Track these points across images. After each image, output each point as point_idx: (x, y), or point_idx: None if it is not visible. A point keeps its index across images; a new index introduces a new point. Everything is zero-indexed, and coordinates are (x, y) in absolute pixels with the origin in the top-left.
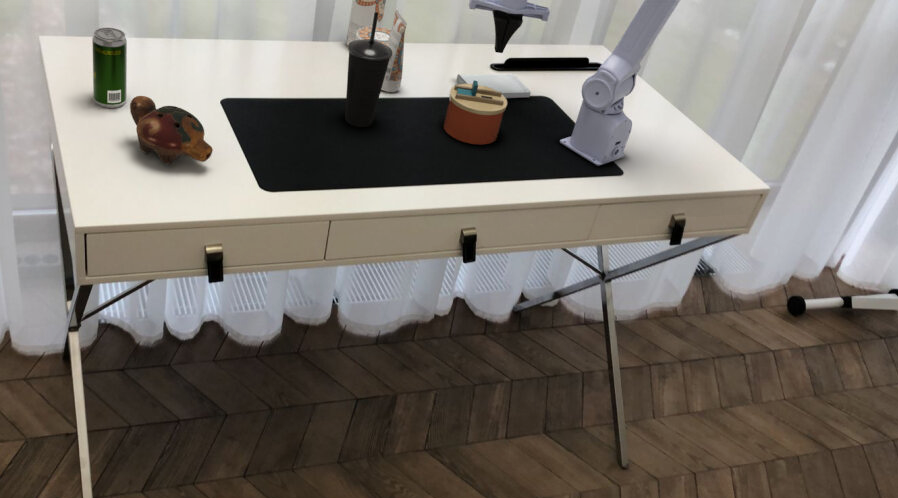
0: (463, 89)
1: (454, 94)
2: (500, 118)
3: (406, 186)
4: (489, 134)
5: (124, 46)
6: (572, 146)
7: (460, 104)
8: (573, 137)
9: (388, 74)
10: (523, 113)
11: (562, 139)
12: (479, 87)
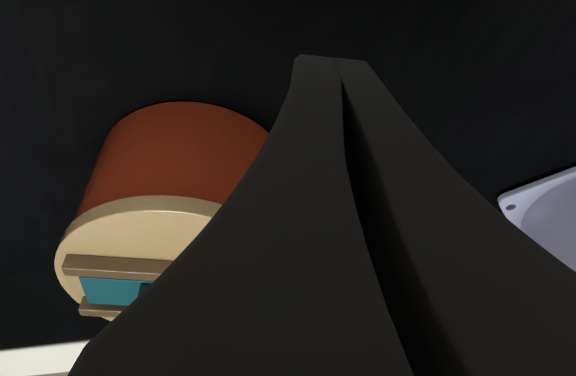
0: (106, 281)
1: (77, 284)
2: None
3: (60, 344)
4: None
5: None
6: (520, 224)
7: (110, 319)
8: (533, 236)
9: None
10: (473, 14)
11: (512, 197)
12: (185, 231)
